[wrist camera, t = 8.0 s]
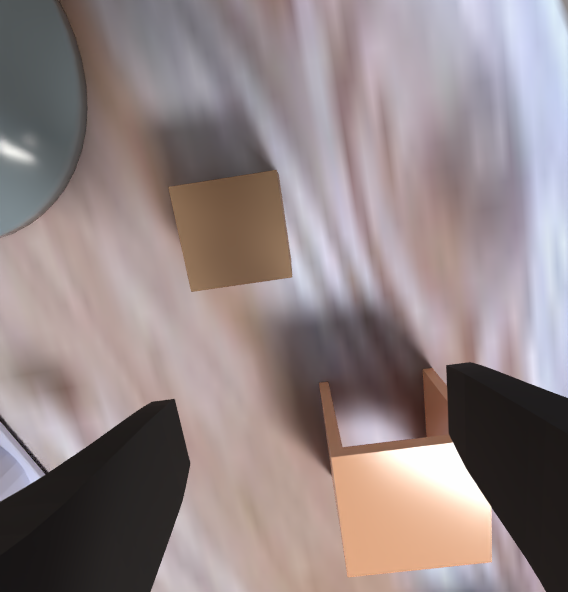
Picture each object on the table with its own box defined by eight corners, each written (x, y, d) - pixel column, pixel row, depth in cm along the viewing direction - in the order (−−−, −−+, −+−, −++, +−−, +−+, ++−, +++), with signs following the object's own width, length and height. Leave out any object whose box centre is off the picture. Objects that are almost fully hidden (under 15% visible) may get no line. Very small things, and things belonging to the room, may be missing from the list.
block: (211, 271, 19) (191, 291, 15) (194, 188, 18) (168, 186, 14) (291, 259, 18) (292, 277, 15) (278, 175, 17) (276, 169, 14)
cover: (332, 476, 22) (347, 577, 16) (318, 382, 20) (331, 457, 14) (436, 463, 21) (491, 562, 16) (431, 368, 20) (490, 438, 14)
